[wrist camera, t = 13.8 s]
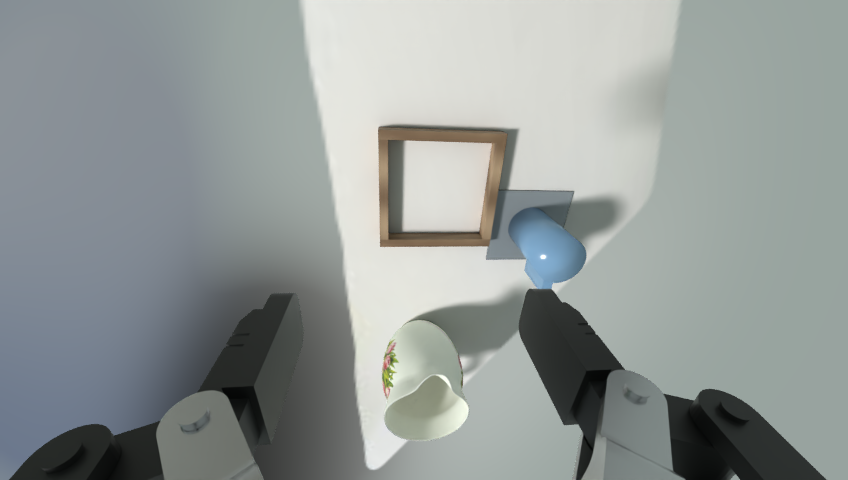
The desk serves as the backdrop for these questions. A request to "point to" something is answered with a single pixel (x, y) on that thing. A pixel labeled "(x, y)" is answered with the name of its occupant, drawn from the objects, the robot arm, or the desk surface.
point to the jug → (546, 247)
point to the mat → (516, 201)
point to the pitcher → (423, 383)
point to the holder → (491, 189)
